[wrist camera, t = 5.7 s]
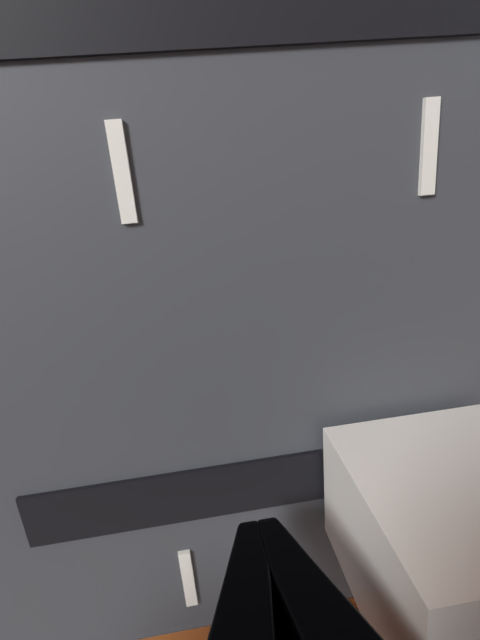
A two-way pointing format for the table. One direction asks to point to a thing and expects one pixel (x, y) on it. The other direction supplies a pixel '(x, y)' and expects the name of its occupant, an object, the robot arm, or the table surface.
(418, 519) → the block
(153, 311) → the console
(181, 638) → the table surface
